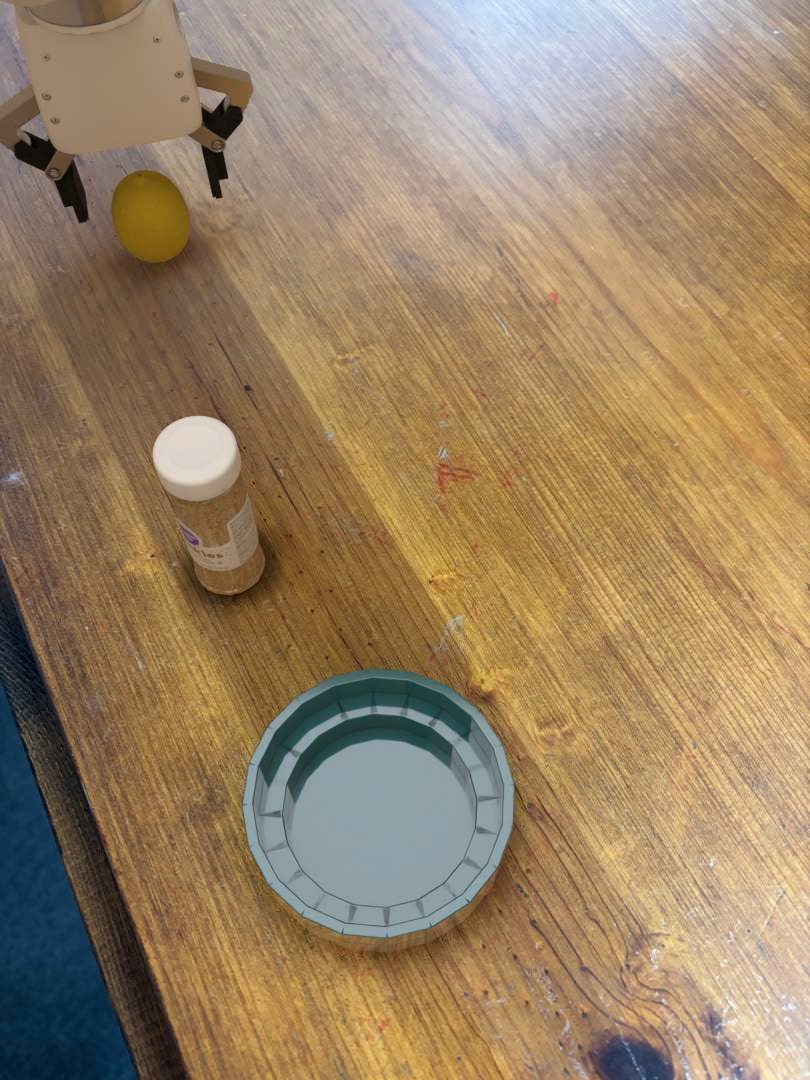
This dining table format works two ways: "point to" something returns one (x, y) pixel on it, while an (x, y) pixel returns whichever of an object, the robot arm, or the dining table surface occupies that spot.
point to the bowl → (379, 809)
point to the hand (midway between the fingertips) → (149, 197)
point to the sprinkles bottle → (210, 502)
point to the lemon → (150, 216)
